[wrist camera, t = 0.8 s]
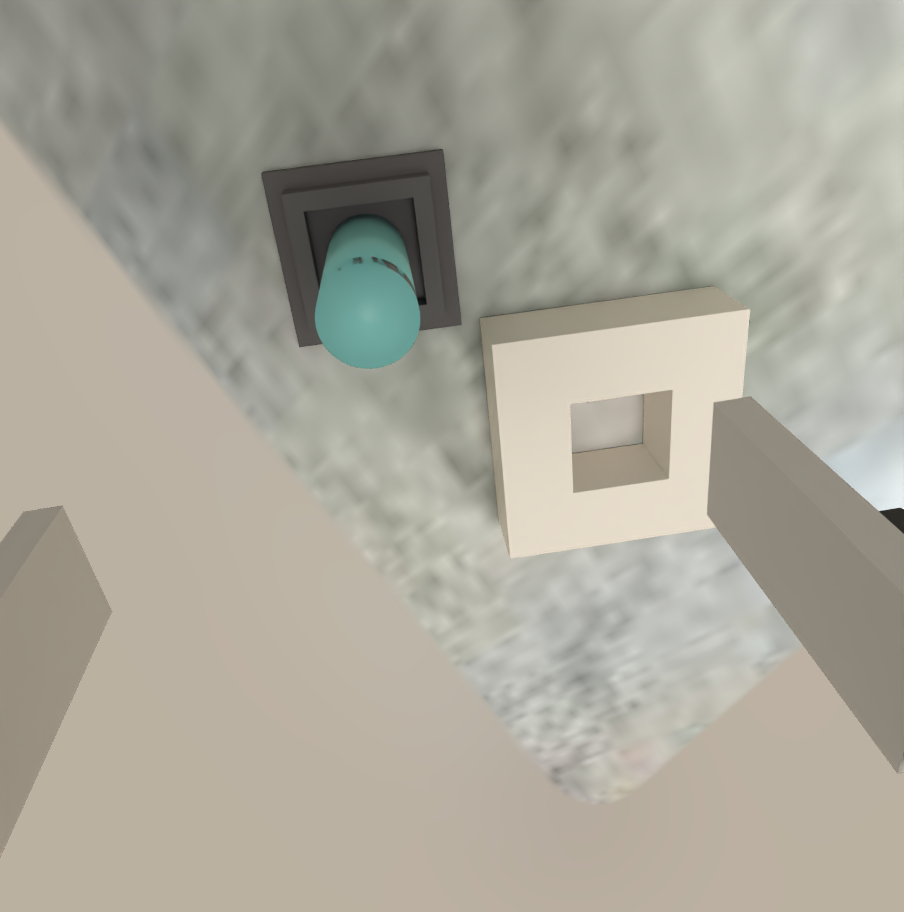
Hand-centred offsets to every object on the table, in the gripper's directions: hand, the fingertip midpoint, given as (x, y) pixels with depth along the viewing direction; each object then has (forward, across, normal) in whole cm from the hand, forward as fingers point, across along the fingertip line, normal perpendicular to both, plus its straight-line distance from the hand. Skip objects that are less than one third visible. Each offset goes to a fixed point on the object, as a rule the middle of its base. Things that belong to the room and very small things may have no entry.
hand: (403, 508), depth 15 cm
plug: (+22, -1, 0) cm, 22 cm away
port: (+22, +10, -10) cm, 26 cm away
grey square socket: (+22, -1, 0) cm, 22 cm away
